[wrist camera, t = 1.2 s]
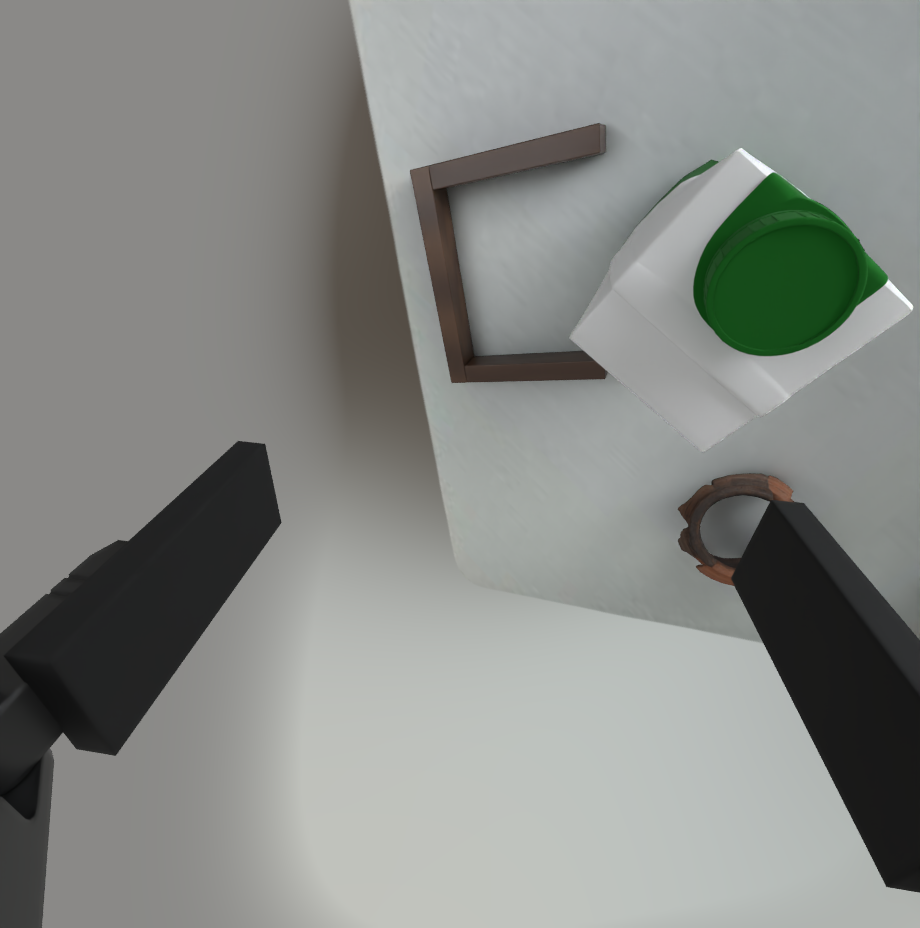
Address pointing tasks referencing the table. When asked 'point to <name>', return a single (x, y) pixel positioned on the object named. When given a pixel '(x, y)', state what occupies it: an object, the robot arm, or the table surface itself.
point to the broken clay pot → (710, 495)
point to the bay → (445, 263)
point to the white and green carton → (733, 299)
